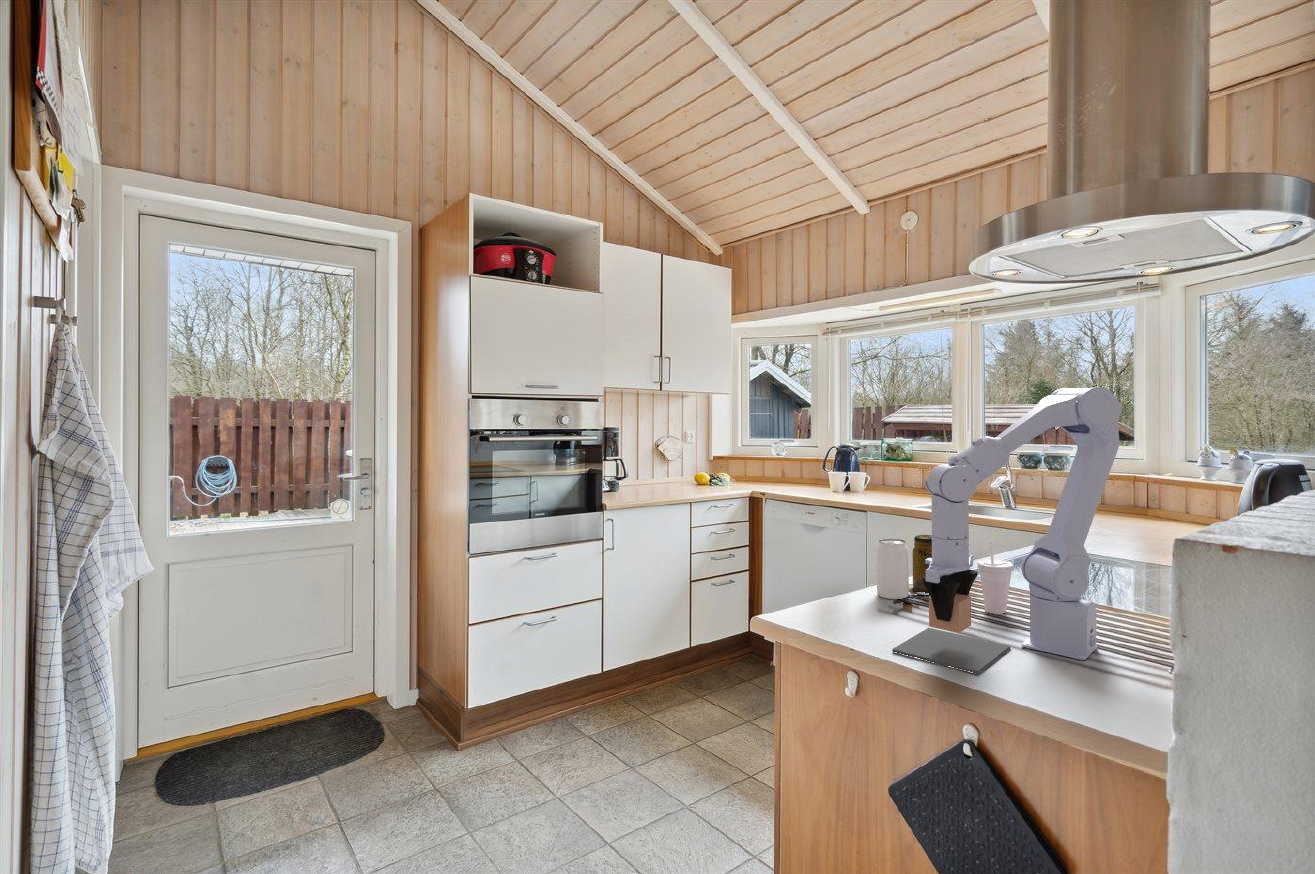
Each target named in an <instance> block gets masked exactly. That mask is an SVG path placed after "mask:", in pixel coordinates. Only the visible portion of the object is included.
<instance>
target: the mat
mask: <svg viewBox="0 0 1315 874" xmlns="http://www.w3.org/2000/svg"><path fill="white" fill-rule="evenodd" d="M1010 650H1011V646H1010V645H1008V644H1007V645H1006V644H1003V643H998V642H995V641H990V640H987V639H985V640H984V639H982V638H976V637H971V636H968V635H964V634H960V633H956V632H951V631H947V630H942V629H938V628H934V627H927V628H926V629H923V630H922V631H921V632H919V633H917V634H915V635H914V636H912V637H910V638H908V639H907V640H905V641H904V642H902V643H900V644H899V645H897V646H895V647H893V648H892V651H893V652H897V653H901V654H904V655H908V656H912V657H917V658H920V659H923V660H927V661H930V662H929V663H931V662H934V663H936V664H935V665H938V664H939V666H942V665H943V667H946V666H951V667H954V668H958V669H962V670H966V671H970V672H973V673H976V674H975V675H977V674H978V675H979V673H980V672H981V671H982V672H983V671H985V670H986V669H988V666H989V667H990V666H991V665H992V664H994V663H995V662H996V661H997V660H999V659H1000V658H1002V656H1004V655H1005V654H1006V653H1007V652H1008V651H1010ZM892 651H891V652H892ZM904 655H903V656H904ZM908 656H907V657H908ZM912 657H911V658H912ZM923 660H922V661H923ZM927 661H926V662H927ZM934 663H933V664H934ZM954 668H953V669H954ZM985 668H986V669H985ZM984 669H985V670H984ZM982 672H981V673H982ZM973 673H972V674H973ZM981 673H980V674H981Z"/></svg>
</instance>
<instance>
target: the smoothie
mask: <svg viewBox="0 0 1315 874" xmlns="http://www.w3.org/2000/svg"><path fill="white" fill-rule="evenodd" d="M994 542H995V541H993V540H991V541H990V559H982V560H978V561H977V569H979V577H980V582H981V590H982V597H983V605H984V611H985V610H986V611H987V612H986V611H985V612H986V613H988V612H990V613H989V614H991V613H993V615H1004V614H1003V613H1005V612H1006V613H1007V608H1008V607H1007V606H1008V599H1009V592H1010V585H1011V580H1012V571H1014V570H1015V569H1014V564H1013V563H1012V562H1010V561H1006V560H1001V559H995V543H994ZM1006 613H1005V614H1006Z"/></svg>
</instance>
